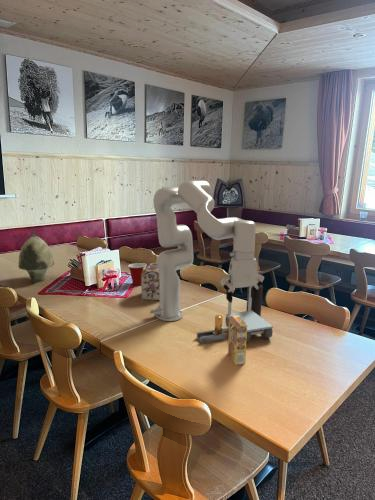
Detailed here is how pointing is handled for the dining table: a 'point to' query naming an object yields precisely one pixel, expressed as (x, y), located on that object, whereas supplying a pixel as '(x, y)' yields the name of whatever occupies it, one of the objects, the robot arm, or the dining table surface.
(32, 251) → the potted topiary
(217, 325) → the stop pin
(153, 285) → the decorative jar
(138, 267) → the plastic cup
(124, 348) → the dining table surface
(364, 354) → the dining table surface
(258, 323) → the trolley
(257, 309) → the bottle
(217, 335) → the pin rail
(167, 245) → the robot arm
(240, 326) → the candy box
